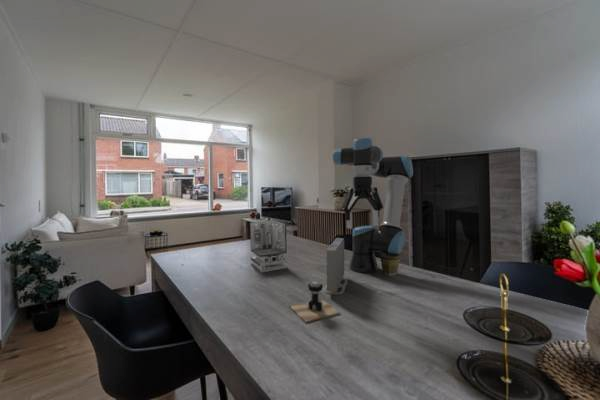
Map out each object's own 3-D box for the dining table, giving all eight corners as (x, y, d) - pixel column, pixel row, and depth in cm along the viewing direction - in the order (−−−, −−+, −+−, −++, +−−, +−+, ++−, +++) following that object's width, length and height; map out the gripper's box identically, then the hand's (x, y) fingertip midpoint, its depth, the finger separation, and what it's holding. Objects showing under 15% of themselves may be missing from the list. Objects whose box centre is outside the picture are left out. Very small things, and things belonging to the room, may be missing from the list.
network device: (341, 298, 114) (341, 250, 112) (320, 296, 116) (320, 249, 115) (348, 277, 138) (348, 237, 137) (331, 276, 141) (331, 237, 139)
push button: (302, 309, 103) (302, 283, 102) (309, 304, 107) (308, 278, 107) (319, 313, 100) (319, 286, 99) (325, 307, 104) (324, 281, 104)
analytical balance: (276, 261, 169) (275, 220, 167) (289, 269, 152) (288, 224, 150) (251, 265, 161) (250, 222, 160) (262, 274, 145) (261, 227, 143)
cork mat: (289, 306, 107) (289, 305, 107) (320, 299, 113) (320, 298, 113) (305, 323, 94) (305, 321, 94) (340, 314, 100) (340, 312, 100)
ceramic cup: (402, 276, 138) (403, 257, 137) (382, 277, 138) (382, 257, 137) (394, 268, 151) (394, 250, 150) (376, 268, 151) (376, 250, 150)
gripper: (342, 176, 106) (343, 230, 108) (391, 175, 117) (391, 225, 118) (332, 176, 113) (332, 228, 114) (379, 176, 124) (379, 223, 125)
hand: (362, 226), depth 116 cm, fingers open, 13 cm apart
